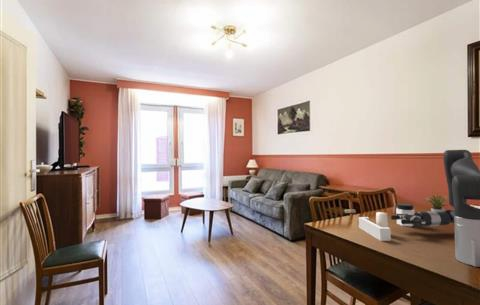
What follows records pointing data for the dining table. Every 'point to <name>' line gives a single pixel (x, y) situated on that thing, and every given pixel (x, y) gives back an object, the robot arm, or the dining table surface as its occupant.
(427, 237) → the dining table surface
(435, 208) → the house plant
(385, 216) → the white pillar candle
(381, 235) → the stop rail
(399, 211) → the jar
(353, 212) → the roller
